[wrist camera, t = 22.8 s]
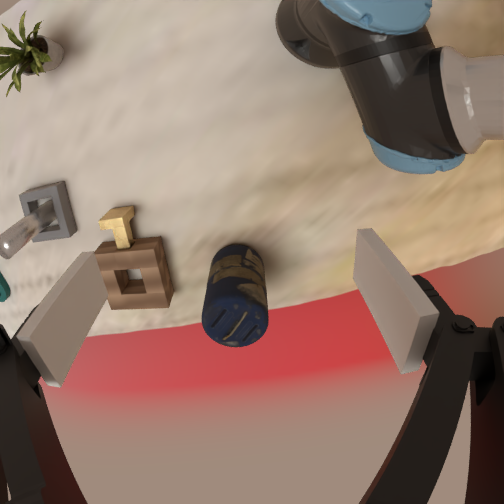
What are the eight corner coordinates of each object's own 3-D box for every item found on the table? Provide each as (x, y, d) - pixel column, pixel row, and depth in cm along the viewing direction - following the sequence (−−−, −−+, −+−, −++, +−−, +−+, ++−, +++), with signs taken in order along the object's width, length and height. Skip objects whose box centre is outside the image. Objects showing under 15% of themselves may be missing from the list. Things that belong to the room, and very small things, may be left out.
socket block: (102, 242, 54) (92, 254, 50) (160, 236, 54) (153, 249, 50) (119, 294, 60) (111, 309, 55) (173, 292, 60) (168, 307, 55)
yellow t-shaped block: (110, 208, 51) (98, 221, 46) (133, 205, 51) (121, 217, 46) (123, 256, 55) (113, 272, 50) (144, 255, 55) (135, 270, 50)
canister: (274, 265, 57) (285, 332, 41) (237, 295, 60) (235, 364, 44) (237, 230, 54) (235, 290, 38) (200, 264, 57) (185, 329, 41)
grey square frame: (27, 190, 48) (18, 195, 46) (64, 181, 48) (56, 185, 46) (40, 235, 53) (33, 242, 50) (77, 230, 53) (70, 237, 50)
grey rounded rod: (41, 202, 50) (-8, 237, 36) (56, 198, 50) (7, 234, 36) (47, 220, 52) (0, 259, 37) (61, 218, 52) (15, 258, 37)
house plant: (27, 111, 41) (-32, 125, 27) (15, 51, 35) (-43, 50, 21) (86, 78, 40) (30, 77, 26) (73, 13, 34) (19, -5, 19)
